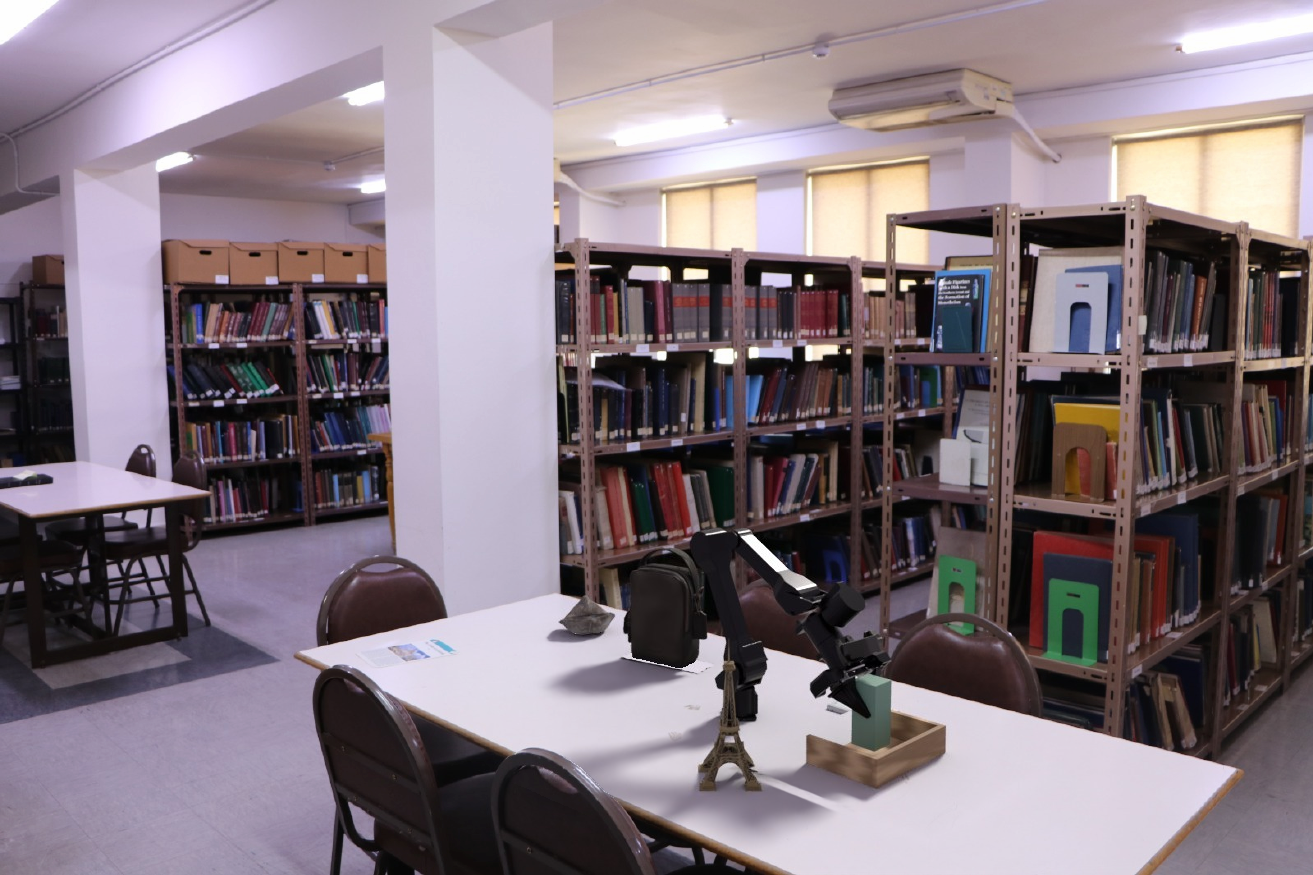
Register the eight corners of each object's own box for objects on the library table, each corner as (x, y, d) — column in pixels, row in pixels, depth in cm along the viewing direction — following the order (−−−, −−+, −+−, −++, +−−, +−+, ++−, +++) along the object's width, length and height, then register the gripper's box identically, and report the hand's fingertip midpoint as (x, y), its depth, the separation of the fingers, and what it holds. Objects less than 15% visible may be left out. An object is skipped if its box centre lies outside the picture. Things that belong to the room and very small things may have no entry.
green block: (851, 743, 182) (852, 679, 181) (867, 736, 186) (868, 673, 184) (874, 751, 179) (875, 686, 177) (890, 744, 182) (891, 680, 181)
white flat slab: (826, 703, 209) (876, 719, 200) (850, 694, 215) (899, 709, 205) (826, 711, 209) (876, 727, 200) (850, 702, 215) (899, 717, 206)
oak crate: (806, 768, 179) (806, 735, 179) (876, 735, 194) (876, 705, 194) (876, 794, 168) (877, 759, 168) (945, 757, 183) (946, 725, 183)
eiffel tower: (699, 766, 181) (698, 631, 179) (757, 766, 181) (757, 630, 178) (699, 791, 170) (698, 648, 168) (761, 791, 170) (761, 648, 168)
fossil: (552, 638, 264) (551, 600, 263) (565, 624, 278) (565, 588, 277) (608, 640, 261) (608, 602, 260) (619, 625, 275) (619, 590, 274)
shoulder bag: (717, 664, 240) (716, 549, 238) (697, 674, 233) (697, 555, 230) (640, 649, 253) (639, 540, 250) (619, 658, 245) (617, 546, 243)
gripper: (823, 627, 176) (875, 704, 169) (883, 608, 189) (934, 678, 182) (788, 660, 183) (836, 735, 176) (848, 640, 196) (896, 709, 189)
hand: (877, 713), depth 180 cm, fingers closed on green block, 5 cm apart
